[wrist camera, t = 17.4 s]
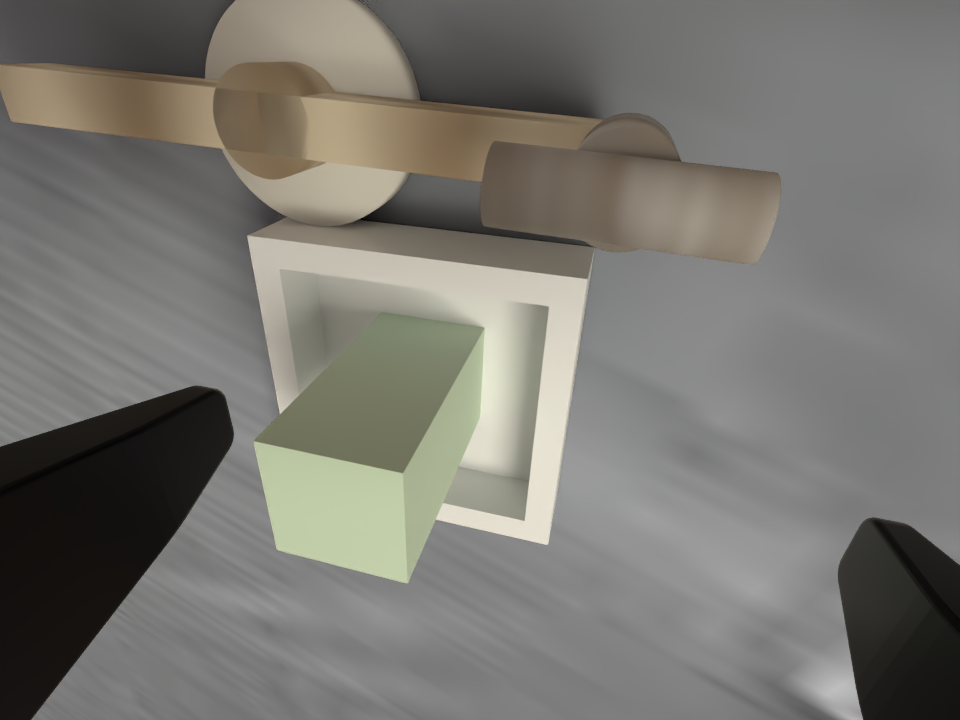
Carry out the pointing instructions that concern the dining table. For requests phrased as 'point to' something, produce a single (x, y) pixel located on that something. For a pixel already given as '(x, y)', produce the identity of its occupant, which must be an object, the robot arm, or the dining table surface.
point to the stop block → (374, 445)
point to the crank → (428, 151)
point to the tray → (449, 298)
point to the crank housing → (348, 69)
